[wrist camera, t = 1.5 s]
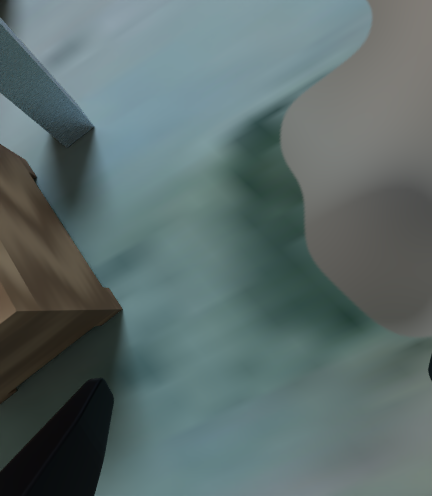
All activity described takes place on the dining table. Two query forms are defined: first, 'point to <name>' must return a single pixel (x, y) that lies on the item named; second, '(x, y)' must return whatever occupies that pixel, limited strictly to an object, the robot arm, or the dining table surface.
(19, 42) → the post
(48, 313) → the wood grain box
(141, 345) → the dining table surface
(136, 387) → the dining table surface
